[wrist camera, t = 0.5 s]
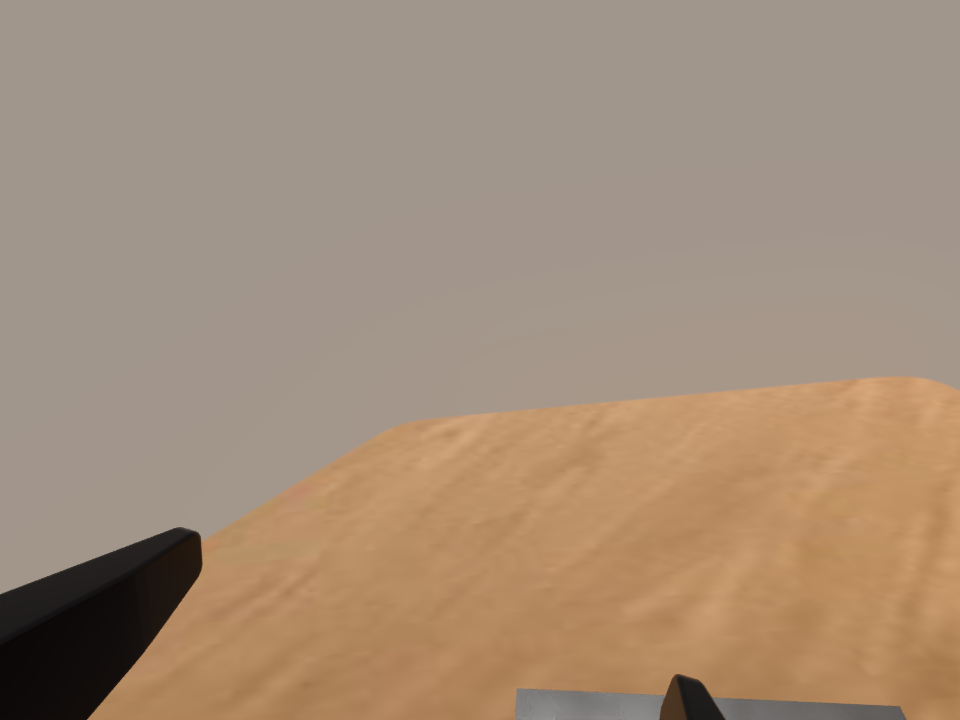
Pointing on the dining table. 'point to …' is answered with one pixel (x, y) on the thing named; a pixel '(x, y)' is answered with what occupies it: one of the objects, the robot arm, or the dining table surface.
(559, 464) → the dining table surface
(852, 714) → the block
